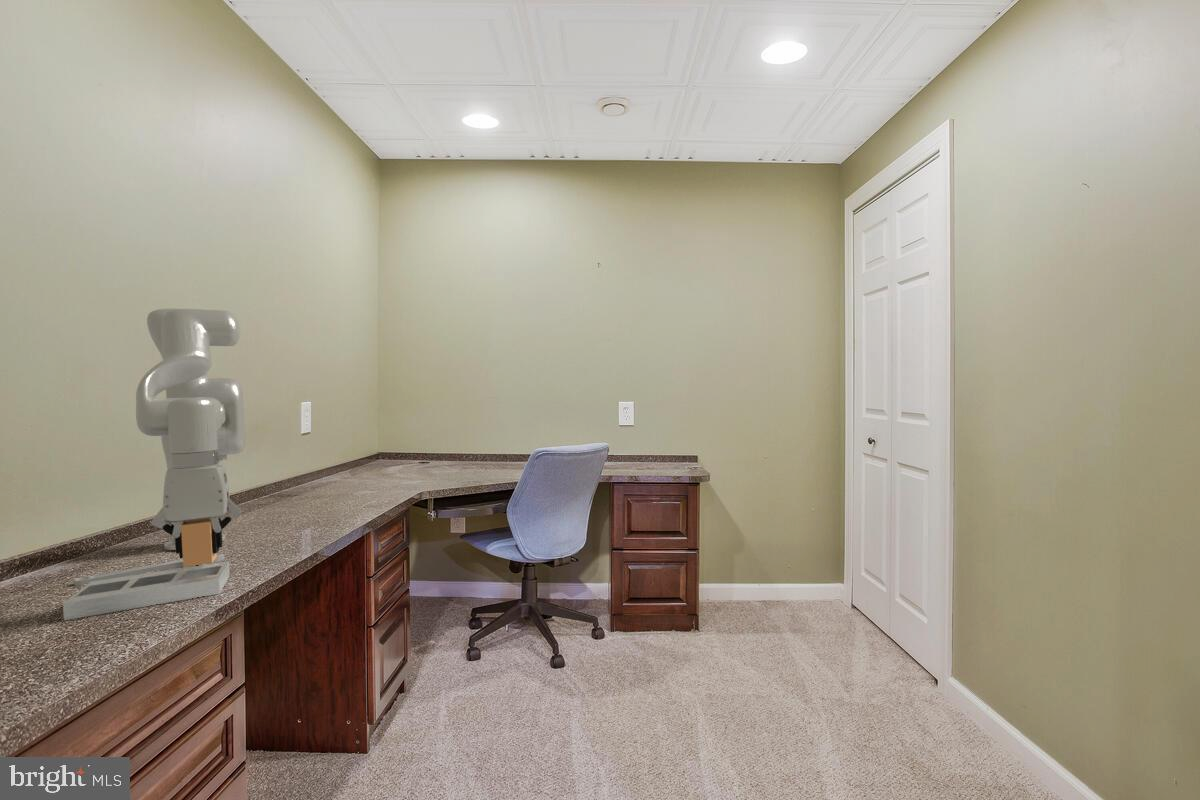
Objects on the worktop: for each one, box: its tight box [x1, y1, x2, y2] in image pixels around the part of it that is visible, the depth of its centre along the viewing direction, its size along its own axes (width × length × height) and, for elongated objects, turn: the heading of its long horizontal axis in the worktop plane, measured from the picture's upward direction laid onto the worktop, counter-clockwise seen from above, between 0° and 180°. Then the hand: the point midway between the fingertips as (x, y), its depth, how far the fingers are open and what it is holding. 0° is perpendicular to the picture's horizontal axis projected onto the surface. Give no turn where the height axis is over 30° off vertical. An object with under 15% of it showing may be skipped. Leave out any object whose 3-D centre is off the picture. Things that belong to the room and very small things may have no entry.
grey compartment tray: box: [62, 560, 231, 622], centre depth 102 cm, size 12×22×3 cm, turn 117°
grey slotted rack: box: [73, 551, 225, 587], centre depth 118 cm, size 25×6×2 cm, turn 122°
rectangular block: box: [181, 518, 216, 568], centre depth 105 cm, size 4×4×8 cm
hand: (199, 553), depth 105 cm, fingers closed on rectangular block, 4 cm apart
